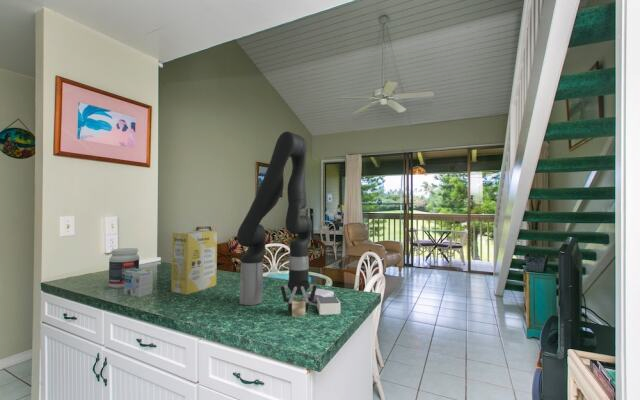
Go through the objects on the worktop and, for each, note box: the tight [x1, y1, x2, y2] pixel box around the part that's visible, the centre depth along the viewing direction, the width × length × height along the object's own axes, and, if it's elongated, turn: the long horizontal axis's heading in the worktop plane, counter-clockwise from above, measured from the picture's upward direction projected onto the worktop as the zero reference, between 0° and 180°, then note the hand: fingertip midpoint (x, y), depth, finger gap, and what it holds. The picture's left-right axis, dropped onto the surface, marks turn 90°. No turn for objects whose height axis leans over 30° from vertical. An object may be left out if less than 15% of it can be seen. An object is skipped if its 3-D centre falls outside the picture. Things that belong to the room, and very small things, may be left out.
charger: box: [306, 288, 335, 307], centre depth 129 cm, size 5×9×15 cm
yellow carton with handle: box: [170, 229, 218, 295], centre depth 147 cm, size 18×10×28 cm, turn 155°
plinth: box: [316, 296, 341, 316], centre depth 116 cm, size 8×8×4 cm
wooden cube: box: [291, 298, 306, 317], centre depth 113 cm, size 5×5×5 cm
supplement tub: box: [108, 247, 140, 289], centre depth 151 cm, size 13×13×18 cm
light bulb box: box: [123, 268, 154, 298], centre depth 137 cm, size 11×7×11 cm, turn 68°
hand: (298, 312), depth 113 cm, fingers closed on wooden cube, 5 cm apart
